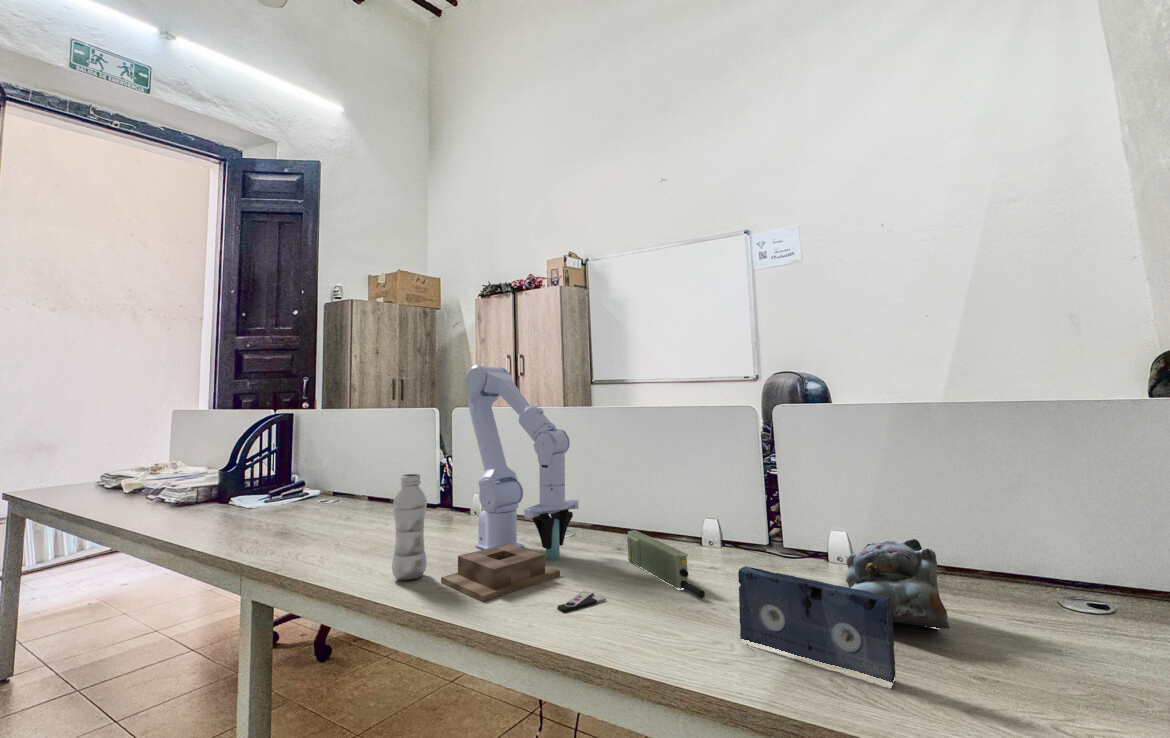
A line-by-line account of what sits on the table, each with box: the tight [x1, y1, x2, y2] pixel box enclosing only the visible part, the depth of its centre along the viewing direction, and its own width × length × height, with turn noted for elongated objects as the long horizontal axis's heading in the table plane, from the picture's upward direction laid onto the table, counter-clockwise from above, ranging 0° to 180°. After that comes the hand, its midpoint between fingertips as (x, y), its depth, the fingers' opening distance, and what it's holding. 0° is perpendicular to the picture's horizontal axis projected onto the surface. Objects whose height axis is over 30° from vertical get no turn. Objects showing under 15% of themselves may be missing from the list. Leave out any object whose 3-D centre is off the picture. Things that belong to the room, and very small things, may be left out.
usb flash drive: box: [556, 590, 607, 614], centre depth 83 cm, size 9×5×1 cm, turn 124°
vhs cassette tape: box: [737, 565, 896, 683], centre depth 64 cm, size 18×3×10 cm, turn 48°
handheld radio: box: [626, 529, 706, 599], centre depth 95 cm, size 7×3×25 cm
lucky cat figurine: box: [845, 538, 951, 629], centre depth 75 cm, size 15×12×14 cm
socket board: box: [440, 544, 561, 603], centre depth 95 cm, size 14×18×4 cm
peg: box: [545, 519, 561, 561], centre depth 109 cm, size 3×3×8 cm
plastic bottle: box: [391, 473, 428, 581], centre depth 97 cm, size 6×7×20 cm
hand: (552, 546), depth 109 cm, fingers closed on peg, 3 cm apart
